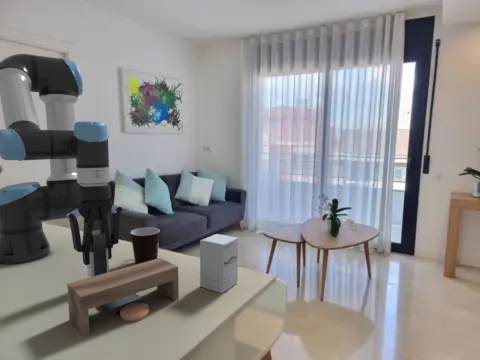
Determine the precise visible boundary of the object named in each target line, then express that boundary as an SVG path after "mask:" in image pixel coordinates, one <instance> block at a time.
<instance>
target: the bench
mask: <svg viewBox="0 0 480 360" xmlns="http://www.w3.org/2000/svg"><path fill="white" fill-rule="evenodd" d="M66 284H67V285H66V286H67V300H68V317H69V318H68V320H69V321H70V322H71V323H72V325H73V326H74V327H75V328H76V329H77V331H78V332H79V333H80V334H81V335H82V336H83V337H85V336H87V335H89V334H90V316H89V314H90V313H89V310H91V309H93V308H97V307H100V306H104V305H103V304H106V303H109V302H112V301H115V300H118V299H121V298H124V297H127V296H129V295H132V294H135V293H136V294H138V293H140V292H144V291H147V290H149V289H150V290H151V289H152V288H156V290H157V291H159V292H160V293H162V294H164V295H165V296H167V297H169V298H170V299H172V300H173V301H176V300H179V298H180V297H179V293H180V290H179V266H178V265H176V264H173V263H171V262H169V261H167V260H165V259H163V258H161V257H157V259H154V260H151V261H147V262H144V263H140V264H137V265H136V264H133V265H130V266H126V267H122V268H119V269H116V270H113V271H109V272H108V273H104V274H101V275H97V276H93V277H90V276H89V277H87V278H83V279H81V280H76V281H72V282H69V283H66Z"/></svg>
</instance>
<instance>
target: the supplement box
mask: <svg viewBox="0 0 480 360" xmlns="http://www.w3.org/2000/svg"><path fill="white" fill-rule="evenodd" d="M199 260H200V261H199V266H200V267H199V277H200V278H199V280H200V281H199V286H200V287H201V288H203V289H204V288H205V289H207V290H211V291H213V292H217V293H220V294H224V293H225V292H226V291H227V290H228V289H229V290H230V288H232V287H233V286H234V285H236V284H238V281H239V280H238V277H239V276H238V275H239V274H238V271H239V270H238V269H239V265H238V263H239V237H235V236H231V235H224V234H221V233H219V234H218V233H216V234H215V233H214V234H212V235H211V236H208V237H206V238H203V239H200V240H199Z"/></svg>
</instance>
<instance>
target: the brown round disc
mask: <svg viewBox="0 0 480 360" xmlns="http://www.w3.org/2000/svg"><path fill="white" fill-rule="evenodd" d="M119 313H120V314H119V317H120V319H121V320H122V321H123V322H126V323H127V322H128V323H129V322H130V323H133V322H132V321H135V322H139V321H142V320H144V319H146V318H147V317H148V316H149V314H150V307H149V305H148V304H147V303H144V302H142V303H132V304H128V305H126V306H124V307H123V308H122V309H121V310H120V311H119ZM147 315H148V316H147ZM146 316H147V317H146ZM145 317H146V318H145ZM143 318H144V319H143ZM141 319H142V320H141ZM138 320H139V321H138Z"/></svg>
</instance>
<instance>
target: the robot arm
mask: <svg viewBox="0 0 480 360" xmlns="http://www.w3.org/2000/svg"><path fill="white" fill-rule="evenodd" d="M83 85H84V83H83V77H82V72H81V70H80V67H79V65H78V64H77V63H76V62H75V61H74V60H70V59H65V58H63V57H60V58H59V57H52V56H51V57H50V56H42V55H38V54H37V55H36V54H34V55H33V54H29V53H17V54H12V55H10V56H8V57H7V56H6V58H4V59H2V60H1V61H0V103H1V109H2V110H1V111H2V116H3V121H4V128H3V129H0V159H2V160H5V161H18V162H21V161H22V162H23V161H39V160H40V161H41V160H49V167H50V175H49V177H47V179H46V180H45V182H46V185H41V184H40V182H38V181H29V182H28V181H27V182H21V183H15V184H10V185H7V186H4V187H1V188H0V264H3V265H4V264H6V265H7V264H8V265H9V264H10V265H13V264H21V263H28V262H31V261H32V262H33V261H35V260H38V259H42V258H44V257H46V256H48V255H50V253H51V244H50V243H49V241H48V238H47V236H46V234H45V231H44V230H43V222H47V221H48V222H49V221H55V220H57V221H58V220H64V219H67V220H68V221H69V228H70V231H71V238H72V239H71V240H72V246H73V249H74V250H75V251H76V252H78V253H82V263H83V264H84V265H85V266H86V270H87V271H86V272H87V276H89V278H90V277H93V276H94V258H93V252H92V251H90V246H91V237H92V231H93V227H94V223H95V222H96V221H97V222H98V225H99V228H100V229H99V230H100V231H102V232H104V233H105V236H106V257H107V273H108V272H110V268H109V267H110V266H109V263H110V262H109V260H112V257H113V256H112V253H113V252H112V249H113V248H114V245H117V244H119V240H120V238H119V237H120V218H121V217H120V216H121V214H122V211H123V208H122V207H121V206H118V205H113V203H112V200H111V185H110V183H109V182H111V181H110V159H109V158H110V155H109V153H110V152H109V137H110V136H109V133H108V125H107V124H106V122H103V121H89V120H88V121H87V120H86V121H85V120H84V121H83V120H82V121H76V119H75V116H76V115H75V103H76V102H78V100H79V96H81V95H82V94H83V91H84V88H83ZM32 93H38V98H39V99H40V100H41V102H43V103H44V105H45V107H44V108H45V118H46V129H41V127H40V123H39V119H38V115H37V111H36V108H35V104H34V101H33V97H32ZM109 213H111V217H110V218H111V219H110V229H109V225H108V223H109V221H108V220H109V219H108V215H109ZM79 217H82V218H83V232H82V237H81V231H80V225H79V224H80V223H79V221H78V220H79Z"/></svg>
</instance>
